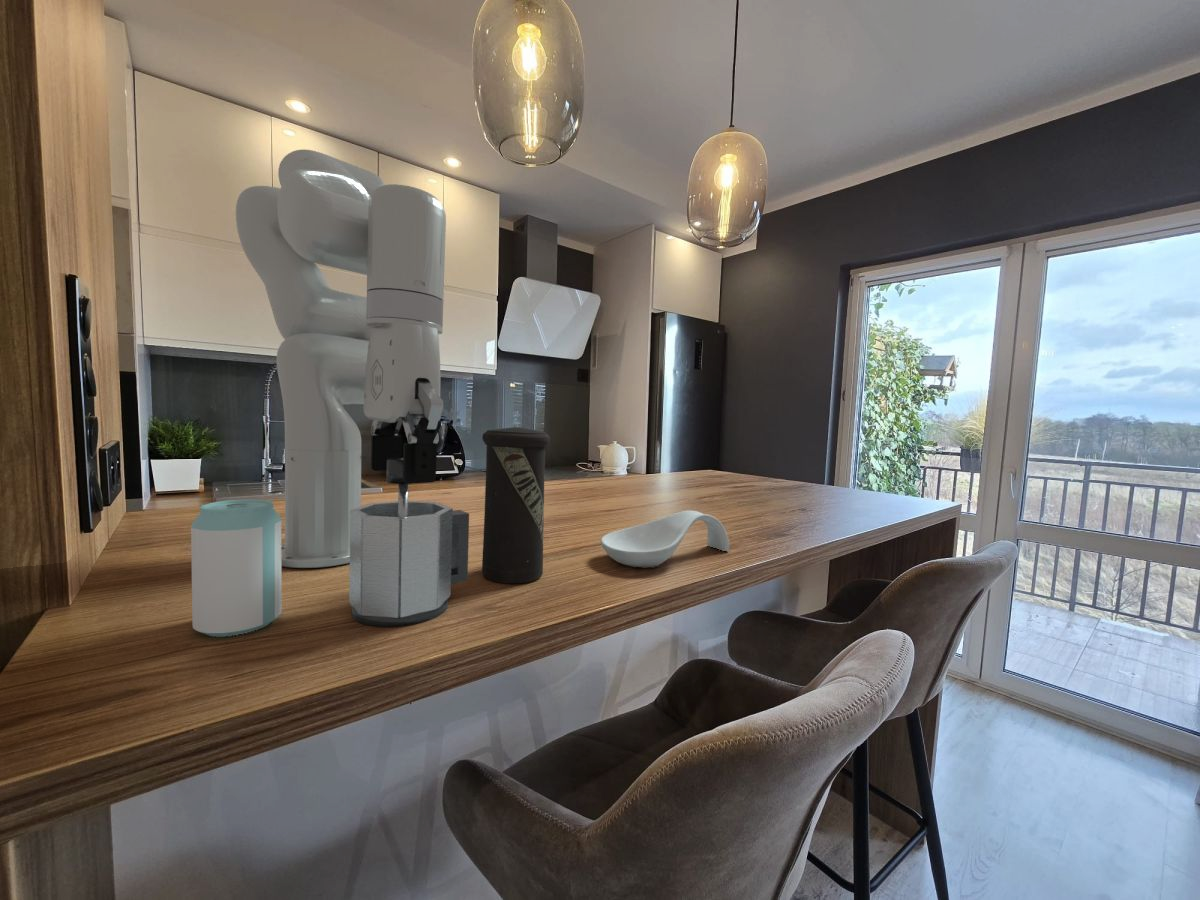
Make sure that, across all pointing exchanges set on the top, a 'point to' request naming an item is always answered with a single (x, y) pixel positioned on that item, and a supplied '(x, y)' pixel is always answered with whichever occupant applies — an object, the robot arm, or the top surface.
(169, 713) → the top surface
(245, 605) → the can
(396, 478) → the plunger
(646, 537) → the spoon rest
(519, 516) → the container
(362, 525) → the octagonal grey mug
